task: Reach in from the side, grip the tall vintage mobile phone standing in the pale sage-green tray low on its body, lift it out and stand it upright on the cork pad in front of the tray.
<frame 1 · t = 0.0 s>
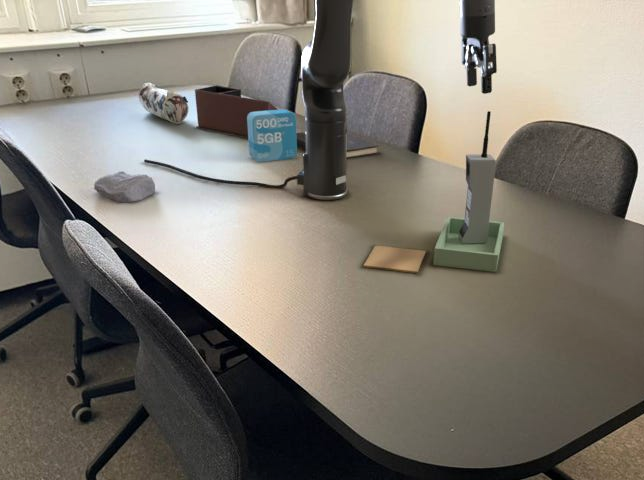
hand: (479, 89, 161), 22 cm above the table, tool pointing down, fingers open, 8 cm apart
desk organizer: (244, 133, 213), on the table
vintage mobile phone: (472, 241, 141), resting on tray
pencil case: (164, 118, 227), on the table
hardcover book: (331, 148, 200), on the table
tray: (469, 250, 137), on the table
cork pad: (395, 259, 133), on the table
stone block: (123, 195, 161), on the table
data package: (273, 159, 189), on the table
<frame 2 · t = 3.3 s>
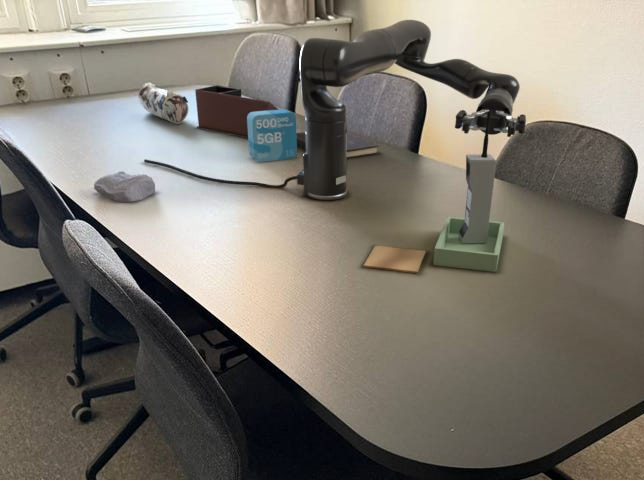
hand: (487, 130, 140), 19 cm above the table, tool horizontal, fingers open, 8 cm apart
nothing on the table moved.
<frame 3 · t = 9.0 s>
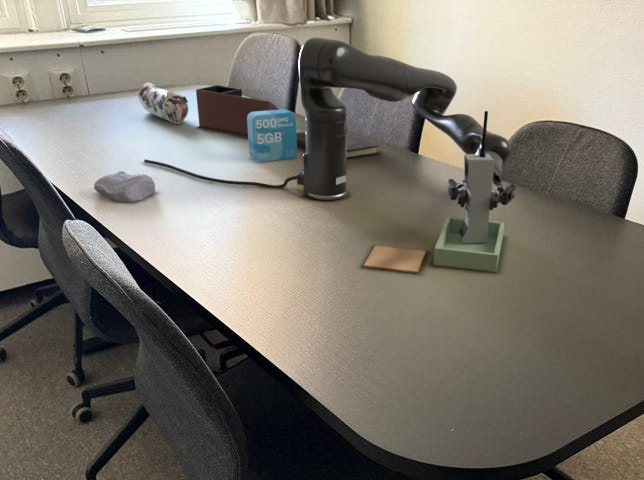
hand: (476, 203, 134), 9 cm above the table, tool horizontal, fingers closed on vintage mobile phone, 5 cm apart
vintage mobile phone: (472, 241, 141), resting on tray, touching gripper
everything else where it was.
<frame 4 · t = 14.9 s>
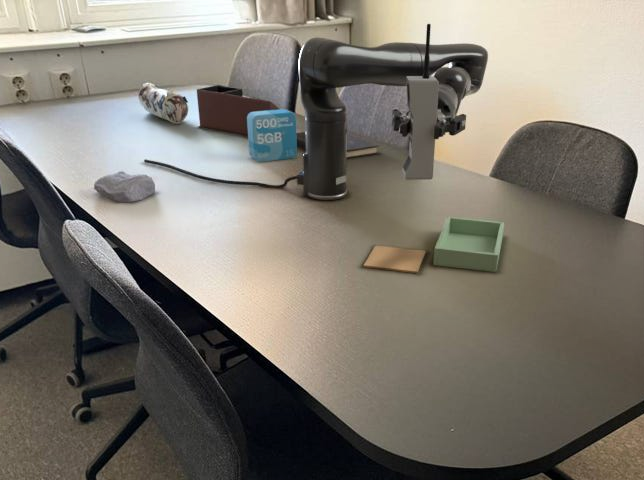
hand: (420, 131, 120), 24 cm above the table, tool horizontal, fingers closed on vintage mobile phone, 5 cm apart
vintage mobile phone: (417, 177, 127), point 15 cm above the table, touching gripper
everything else where it was.
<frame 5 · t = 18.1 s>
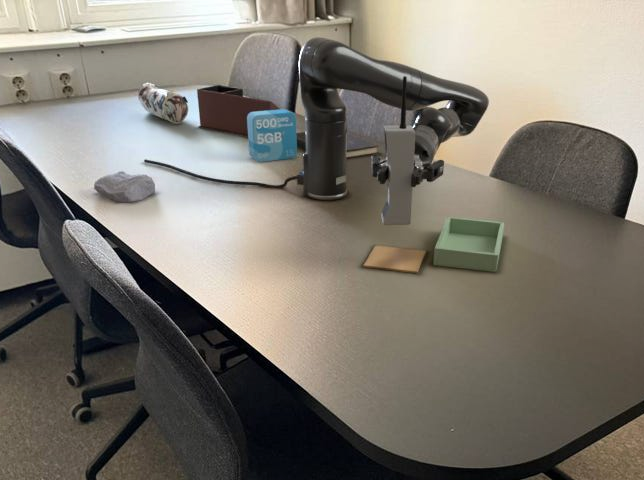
hand: (397, 179, 122), 16 cm above the table, tool horizontal, fingers closed on vintage mobile phone, 5 cm apart
vintage mobile phone: (395, 222, 129), point 7 cm above the table, touching gripper
everything else where it was.
when the fingers open (9 cm above the table, at t = 20.9 s): vintage mobile phone stays where it is, resting on cork pad.
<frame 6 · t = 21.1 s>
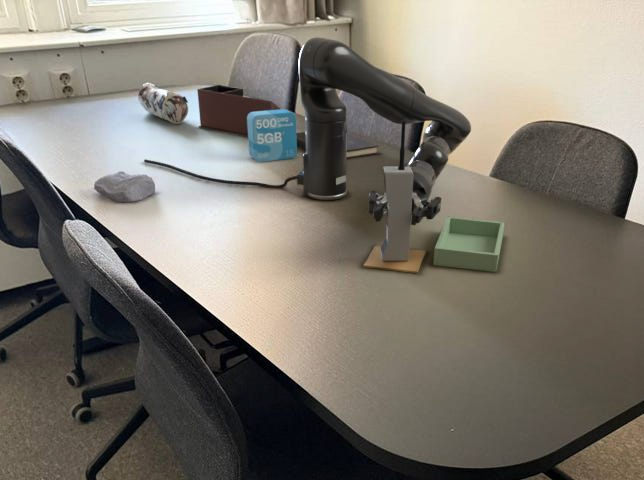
hand: (395, 218, 126), 9 cm above the table, tool horizontal, fingers open, 6 cm apart
vintage mobile phone: (394, 258, 132), resting on cork pad
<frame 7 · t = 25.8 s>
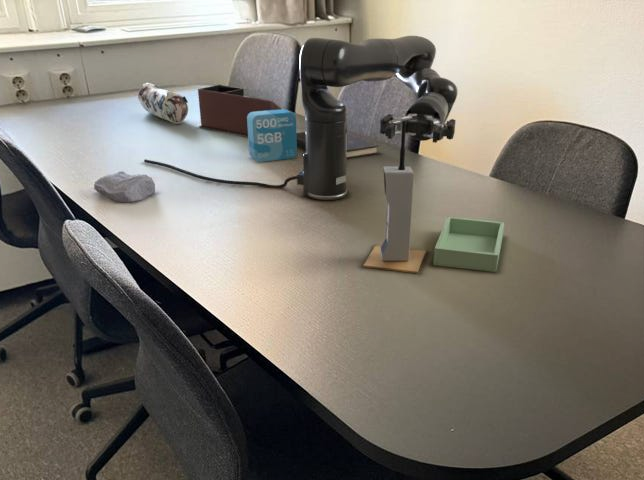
hand: (411, 135, 131), 20 cm above the table, tool horizontal, fingers open, 8 cm apart
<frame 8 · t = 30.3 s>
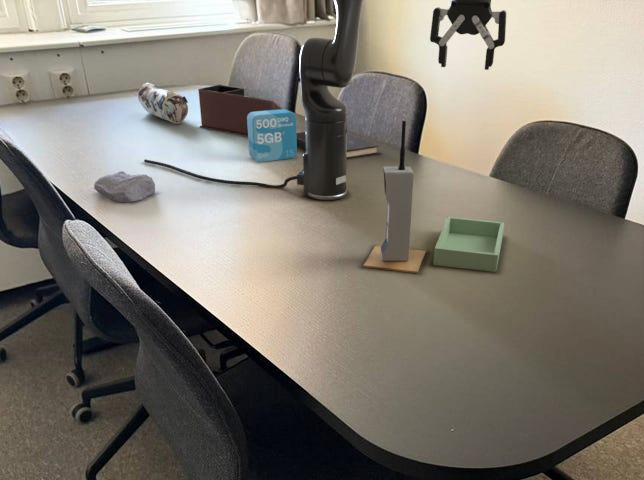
hand: (464, 67, 139), 30 cm above the table, tool pointing down, fingers open, 8 cm apart
at the end: vintage mobile phone inside the target area on the cork pad (0.3 cm from its centre), point 0.2 cm above the cork pad's base; vintage mobile phone tilted 0°; the gripper is holding nothing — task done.
